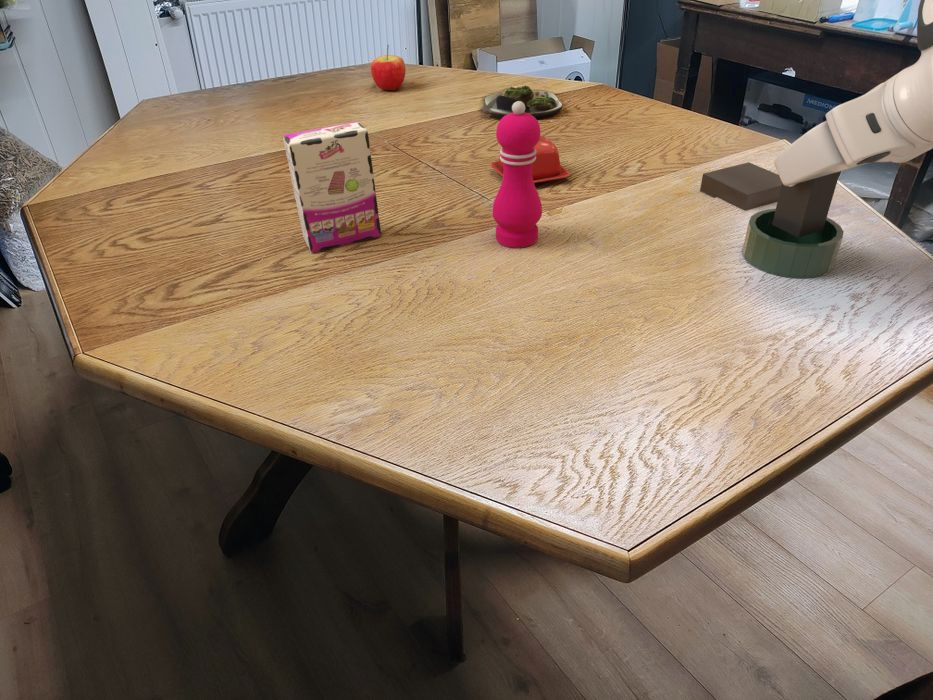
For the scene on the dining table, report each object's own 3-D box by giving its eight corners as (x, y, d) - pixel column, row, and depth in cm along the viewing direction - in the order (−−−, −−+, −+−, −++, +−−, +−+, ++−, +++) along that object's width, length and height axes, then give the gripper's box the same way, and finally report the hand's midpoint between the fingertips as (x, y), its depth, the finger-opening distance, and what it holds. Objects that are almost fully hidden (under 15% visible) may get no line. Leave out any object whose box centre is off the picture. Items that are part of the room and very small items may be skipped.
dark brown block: (796, 217, 94) (815, 145, 88) (823, 230, 90) (844, 156, 84) (771, 224, 92) (789, 152, 86) (798, 237, 89) (818, 163, 83)
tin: (784, 233, 100) (792, 201, 97) (852, 267, 92) (863, 233, 89) (723, 252, 96) (730, 219, 93) (788, 289, 88) (798, 254, 85)
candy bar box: (371, 224, 107) (358, 119, 98) (382, 237, 103) (370, 129, 94) (301, 240, 103) (280, 132, 94) (310, 254, 100) (289, 143, 90)
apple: (410, 84, 172) (407, 42, 166) (401, 94, 165) (398, 50, 159) (379, 84, 173) (374, 42, 167) (369, 93, 167) (364, 50, 161)
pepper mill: (534, 252, 98) (538, 111, 86) (486, 246, 100) (484, 107, 88) (546, 230, 104) (551, 95, 92) (500, 225, 106) (500, 92, 94)
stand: (745, 178, 117) (748, 161, 115) (791, 199, 110) (795, 181, 108) (699, 190, 114) (702, 173, 112) (744, 212, 106) (748, 194, 105)
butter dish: (573, 182, 118) (576, 133, 113) (512, 193, 115) (512, 143, 110) (545, 160, 127) (546, 114, 122) (487, 170, 124) (486, 123, 119)
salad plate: (476, 97, 161) (476, 76, 159) (551, 93, 162) (552, 73, 159) (483, 123, 146) (483, 101, 143) (566, 118, 146) (567, 96, 144)
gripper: (951, 78, 78) (853, 138, 91) (824, 108, 72) (737, 169, 84) (974, 127, 78) (872, 181, 91) (848, 163, 71) (757, 215, 84)
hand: (806, 175), depth 88 cm, fingers closed on dark brown block, 4 cm apart
